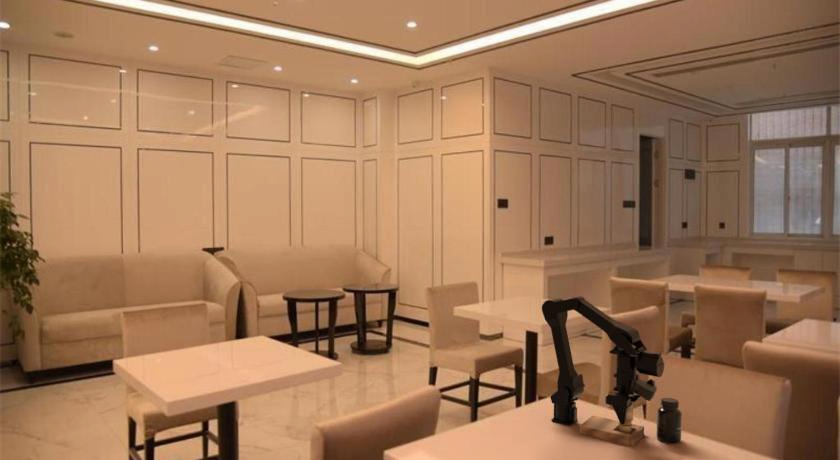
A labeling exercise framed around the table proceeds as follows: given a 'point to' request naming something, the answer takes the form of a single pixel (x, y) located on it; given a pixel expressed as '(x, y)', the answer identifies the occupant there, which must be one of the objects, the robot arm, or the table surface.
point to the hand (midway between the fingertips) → (624, 421)
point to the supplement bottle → (669, 421)
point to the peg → (627, 421)
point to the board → (611, 430)
